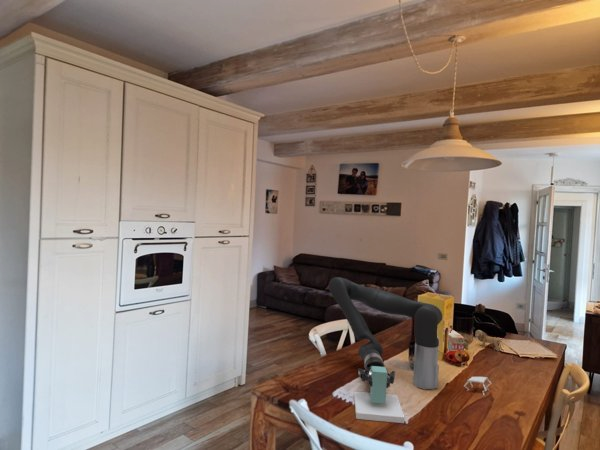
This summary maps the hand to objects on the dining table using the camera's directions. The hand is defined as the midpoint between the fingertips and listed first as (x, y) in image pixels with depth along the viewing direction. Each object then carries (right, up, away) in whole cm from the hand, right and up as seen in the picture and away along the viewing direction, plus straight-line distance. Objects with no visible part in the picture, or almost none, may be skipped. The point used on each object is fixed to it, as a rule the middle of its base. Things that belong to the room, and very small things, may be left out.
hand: (379, 384), depth 134 cm
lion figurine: (+76, -12, +76) cm, 108 cm away
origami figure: (+46, -12, +22) cm, 52 cm away
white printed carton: (+49, -11, +64) cm, 82 cm away
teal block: (0, -7, +3) cm, 7 cm away
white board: (0, -10, +3) cm, 10 cm away
